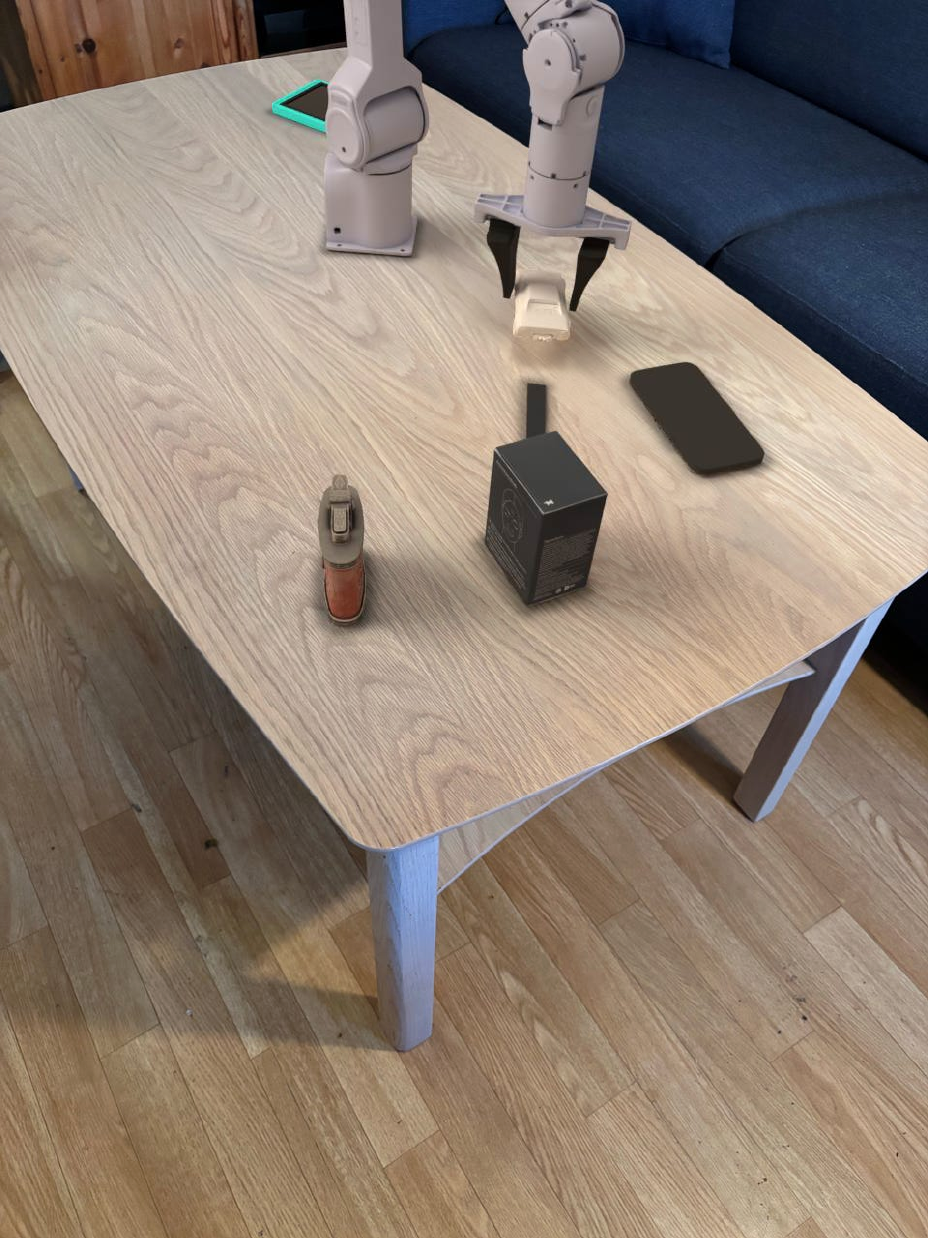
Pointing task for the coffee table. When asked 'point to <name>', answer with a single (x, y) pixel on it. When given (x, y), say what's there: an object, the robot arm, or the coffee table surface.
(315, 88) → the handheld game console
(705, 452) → the phone
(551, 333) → the toy car
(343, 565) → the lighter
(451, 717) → the coffee table surface
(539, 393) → the tape line
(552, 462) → the box
